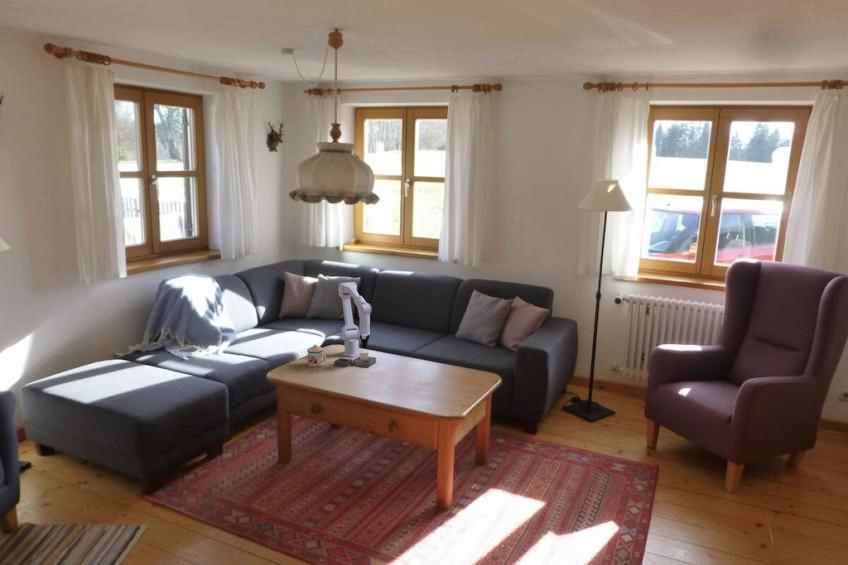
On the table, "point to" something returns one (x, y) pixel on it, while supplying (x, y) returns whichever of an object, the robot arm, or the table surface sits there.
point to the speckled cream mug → (315, 356)
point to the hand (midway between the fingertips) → (364, 347)
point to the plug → (364, 356)
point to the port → (364, 362)
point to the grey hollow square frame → (343, 362)
